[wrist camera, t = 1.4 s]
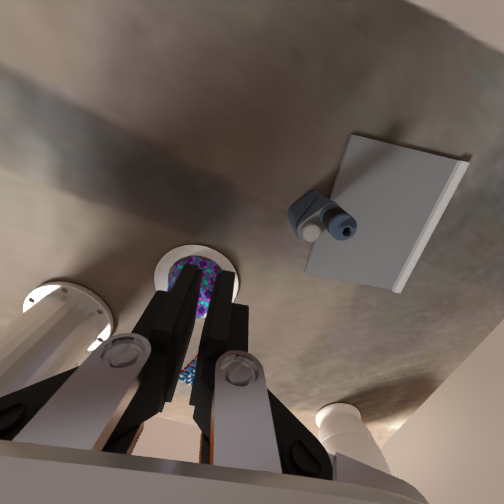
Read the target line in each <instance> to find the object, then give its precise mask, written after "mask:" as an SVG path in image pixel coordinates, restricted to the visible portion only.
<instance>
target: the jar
mask: <svg viewBox="0 0 504 504" xmlns="http://www.w3.org/2000/svg"><path fill="white" fill-rule="evenodd" d="M316 424H317V426H318V427H319V433H318V440H319V441H320V443H321V444H322V445H323V446H324V448H325V449H326V451H327V452H328V453H330V454H333V455H335V453H336V452H339V453H341V454H343V455H345V456H348V457H350V458H352V459H355V460H357V461H359V462H362V463H364V464H366V465H369V466H371V467H373V468H376V469H378V470H380V471H383V472H385V473H387V474H390V475H391V473H390V470H389V467H388V465H387V462H386V460H385V458H384V456H383V454H382V452H381V450H380V449H379V447H378V445H377V444H376V442H375V440H374V438H373V436H372V435H371V433H370V431H369V430H368V428H367V427H366V426H365V424H364V423H363V422H362V421H361V415H360V412H359V410H358V409H357V408H356V407H354V406H352V405H350V404H346V403H335V404H330V405H327V406H325V407H324V408H322V409H321V410H320V411H319V412H318V413H317V415H316Z"/></svg>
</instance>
